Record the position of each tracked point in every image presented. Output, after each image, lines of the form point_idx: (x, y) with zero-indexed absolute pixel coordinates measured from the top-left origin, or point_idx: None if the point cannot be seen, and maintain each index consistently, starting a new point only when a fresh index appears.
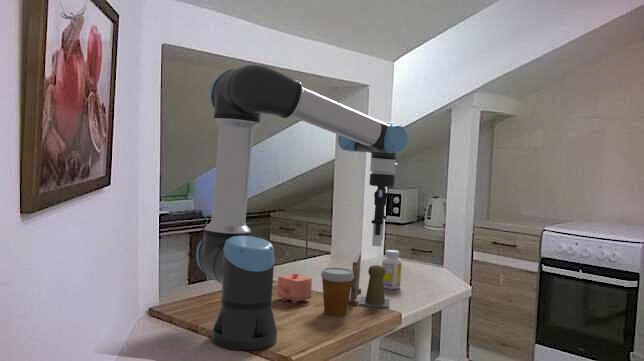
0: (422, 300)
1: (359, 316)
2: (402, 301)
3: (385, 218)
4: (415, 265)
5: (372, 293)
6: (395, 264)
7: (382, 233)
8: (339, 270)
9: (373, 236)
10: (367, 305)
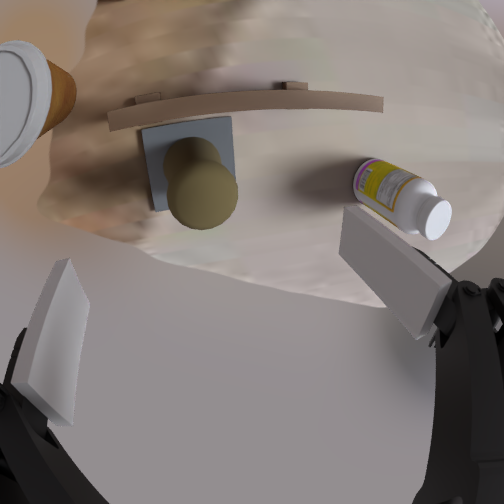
0: (275, 264)
1: (50, 163)
2: (246, 226)
3: (431, 344)
4: (494, 213)
5: (166, 168)
6: (394, 218)
7: (360, 273)
8: (14, 97)
9: (39, 305)
10: (145, 153)
